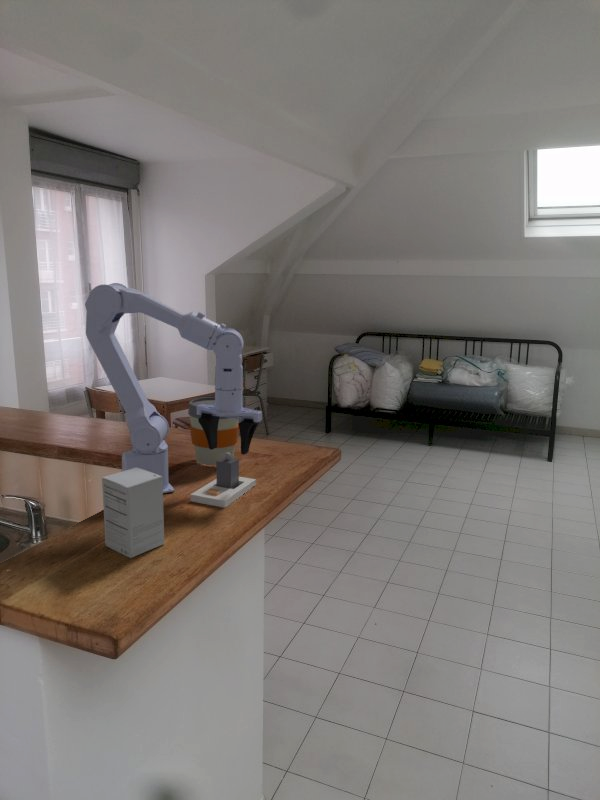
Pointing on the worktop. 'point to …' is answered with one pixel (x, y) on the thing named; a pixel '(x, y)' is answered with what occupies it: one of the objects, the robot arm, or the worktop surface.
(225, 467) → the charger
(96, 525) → the worktop surface
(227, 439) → the reusable coffee cup
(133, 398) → the robot arm
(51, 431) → the worktop surface
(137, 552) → the supplement box
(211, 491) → the white board with cutouts
